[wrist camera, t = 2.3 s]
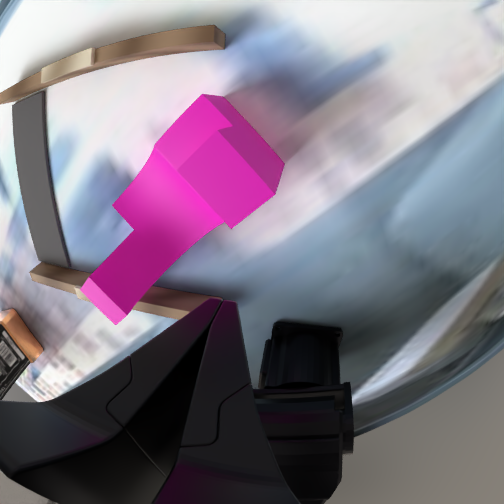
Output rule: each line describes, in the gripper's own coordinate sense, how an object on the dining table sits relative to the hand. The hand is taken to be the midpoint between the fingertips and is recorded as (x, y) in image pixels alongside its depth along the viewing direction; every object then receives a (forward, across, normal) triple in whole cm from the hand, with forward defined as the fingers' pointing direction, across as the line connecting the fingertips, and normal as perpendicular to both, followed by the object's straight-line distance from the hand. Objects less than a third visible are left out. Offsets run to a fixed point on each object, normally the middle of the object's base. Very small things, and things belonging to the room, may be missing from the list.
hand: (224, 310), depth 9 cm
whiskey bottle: (+13, +46, +29) cm, 56 cm away
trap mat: (+12, +24, 0) cm, 28 cm away
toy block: (+13, +7, +1) cm, 15 cm away
